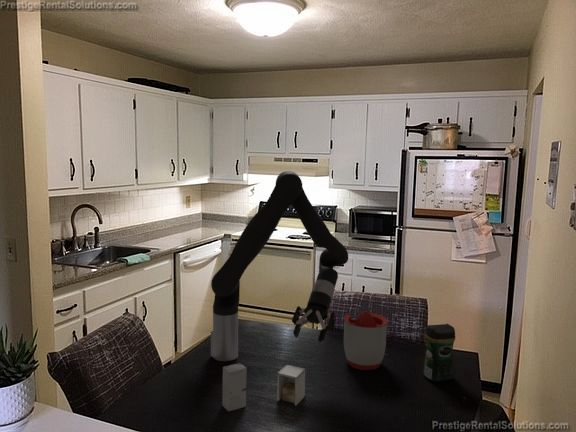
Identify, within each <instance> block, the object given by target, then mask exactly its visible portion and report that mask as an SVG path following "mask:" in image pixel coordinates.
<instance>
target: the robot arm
mask: <svg viewBox="0 0 576 432" xmlns="http://www.w3.org/2000/svg"><path fill="white" fill-rule="evenodd" d="M290 206H292V208H293V209H294V211H295V212H296V214H297V216H298V218H299V220H300V222H301V223H302V226H303V228H304V229H305V231H306V233H307V234H308V236H309V237H310V239H311V240H312V242H313V244H314V245H315V246H316V247H318V248H324V250H323V251H321V254H320V256H319V258H318V259H319V262H318V274H317V277H316V279H315V283H314V284H313V286H312V289H311V292H310V295H309V299H308V300H307V301H308V302H307V303H306V307H305V308H302V307H301V306H300V305H298V306H297V307H296V308H295V310H294V311H295V312H294V314H293V316H292V318H291V322H292V323H293V325H294V329H293V336H294V337H295V338H299V335H300V333H301V329H302V327H303V326H304V325H306V324H315V325H319V324H320V326H321V329H320V330H319V334H318V337H317V338H318V339H317V341H318V342H319V343H322V342H324V341H325V338H326V335H327V333H328V332H330V333H331V332H332V333H333V331H334V327H335V323H336V320H337V319H336V318H337V315H336V313H335V312H334V311H331V312H329V310H330V307H331V303H332V300H333V298H334V293H335V289H336V285H337V283H338V278H339V273H338V271H336V269H334V268H335V267H339V266H342V265H345V264H347V263H348V260H349V253H348V250H347V249H346V247H345V245H344V244H343V243H342V242H341V241H339V239H337V238H336V237H335V236H334V235H333V234H332V233H331V231H330V230H329V228H328V226H327V225H326V223H325V222H324V220H323V219H322V217H321V215H319V213H318V211H317V210H316V209H315V208H314V206H313V205H312V203H311V201H310V200H309V197H308V196H307V194H306V192H305V190H304V187H303V182H302V179H301V177H300V176H299V174H297V173H296V172H294V171H291V170H285V171H282V172H280V174H278V175H277V177H276V180H275V186H274V187H273V190H272V191H271V193H270V195H269V197H268V198H267V201H266V202H265V203H264V205H263V206H262V207H261V208H260V209H259V210H258V211H257V212H256V213H255V214H254V215H253V217H251V219H250V221H249V222H247V225H246V226H245V228H244V229H243V231H242V233H241V234H240V236H239V238H238V239H237V241H236V243H235V245H234V247H233V249H232V251H231V253H230V254H229V257H228V258H227V259H226V261H225V262H224V263H223V264H222V266H221V268H220V269H219V270H218V271H216V273H215V274H214V275H213V277H212V278H211V282H210V285H211V286H210V287H211V289H212V292H213V293H214V300H213V305H212V330H211V331H210V357H212V358H213V359H214V360H216V361H217V362H218V361H219V362H231V361H234V360H236V359H237V358H238V357H239V307H240V306H239V305H240V292H241V291H240V289H241V287H240V285H241V283H240V282H241V279H242V276H243V274H244V273H245V271H246V270H247V268H248V267H249V266H250V264H252V262H254V259H256V258H257V256H258V255H259V253H260V252H261V251H262V250H263V249H264V248H265V246H266V244H267V243H268V241H269V240H270V238H271V236H272V235H273V233H274V232H275V230H276V228H277V227H278V225H279V223H280V221H281V219H282V217H283V216H284V214H285V213H286V211H287V210H288V209H289V207H290ZM326 319H329V321H328V325H327V326H326V323H325V320H326Z"/></svg>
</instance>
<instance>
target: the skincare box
mask: <svg viewBox="0 0 576 432" xmlns="http://www.w3.org/2000/svg"><path fill="white" fill-rule="evenodd" d="M222 406H223V408H224V409H226V411H227V412H231V411H236V410H239V409H242V408H245V407H246V406H247V367H246V366H244V365H243V364H242V363H240V362H239V363H236V364H230V365H226V366H222Z"/></svg>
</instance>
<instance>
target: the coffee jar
mask: <svg viewBox="0 0 576 432" xmlns="http://www.w3.org/2000/svg"><path fill="white" fill-rule="evenodd" d="M424 335H425V336H424V337H425V339H426V350H425V357H424V363H423V376H424V377H425V378H427V379H428V380H430V381H432V382H444V381H445V382H447V381H452V379H454V358H453V357H454V343H455V341H456V329H455V327H454V326H452V325H451V324H449V323H443V324H429V325H427V326H426V327H425V333H424Z"/></svg>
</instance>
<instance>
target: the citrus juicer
mask: <svg viewBox="0 0 576 432" xmlns="http://www.w3.org/2000/svg"><path fill="white" fill-rule="evenodd" d="M343 321H344V323H343V324H344V326H343V347H344V348H343V349H344V354H345V359H346V362H347V363H348V365H349V366H350V367H352V368H354V369H357V370H360V371H372V370H376V369H378V368H379V367H380V366H381V364H382V362H383V360H384V357H385V353H386V352H385V351H386V346H387V331H388V330H387V329H388V328H387V327H388V323H389V321H388V318H386V317H385V316H383V315H381V314H378V313H374V312H369V311H367V310H365V311H363V312H362V311H360V315H359V316H358V317H357V318H356V319H352V316H351V315H350V314H349V313H348V314H346V315H344V316H343Z"/></svg>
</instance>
